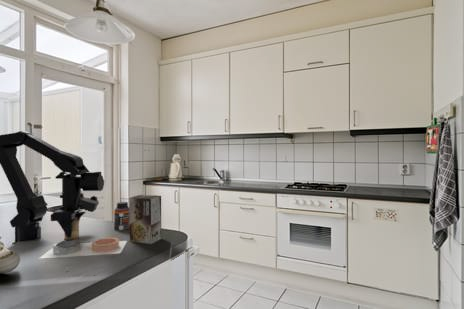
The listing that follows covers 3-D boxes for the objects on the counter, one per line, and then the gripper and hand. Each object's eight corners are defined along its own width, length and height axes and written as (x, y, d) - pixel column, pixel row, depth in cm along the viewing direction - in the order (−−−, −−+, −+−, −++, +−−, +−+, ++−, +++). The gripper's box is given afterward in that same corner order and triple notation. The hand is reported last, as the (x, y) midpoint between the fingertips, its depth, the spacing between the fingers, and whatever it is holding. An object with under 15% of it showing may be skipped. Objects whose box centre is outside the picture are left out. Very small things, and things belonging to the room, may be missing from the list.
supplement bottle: (124, 233, 106) (124, 204, 106) (111, 232, 107) (110, 203, 107) (133, 229, 112) (133, 201, 112) (120, 228, 113) (120, 200, 113)
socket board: (38, 262, 78) (38, 258, 78) (56, 247, 90) (56, 244, 90) (120, 256, 82) (120, 253, 82) (127, 243, 94) (127, 240, 94)
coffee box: (162, 241, 97) (162, 195, 96) (151, 247, 90) (151, 198, 90) (140, 238, 100) (140, 194, 99) (128, 244, 93) (128, 196, 93)
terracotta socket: (89, 252, 83) (89, 246, 82) (96, 244, 90) (96, 238, 90) (115, 251, 84) (115, 244, 84) (121, 243, 91) (120, 237, 91)
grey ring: (48, 255, 80) (48, 248, 80) (59, 246, 88) (59, 240, 88) (76, 253, 82) (76, 246, 82) (85, 245, 89) (85, 239, 89)
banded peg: (62, 243, 94) (61, 223, 94) (67, 239, 99) (67, 219, 99) (76, 242, 95) (76, 222, 95) (81, 238, 100) (81, 219, 100)
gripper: (87, 194, 89) (87, 242, 89) (103, 187, 108) (103, 226, 108) (49, 195, 87) (49, 244, 87) (72, 188, 105) (72, 228, 106)
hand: (71, 235), depth 97 cm, fingers closed on banded peg, 4 cm apart
